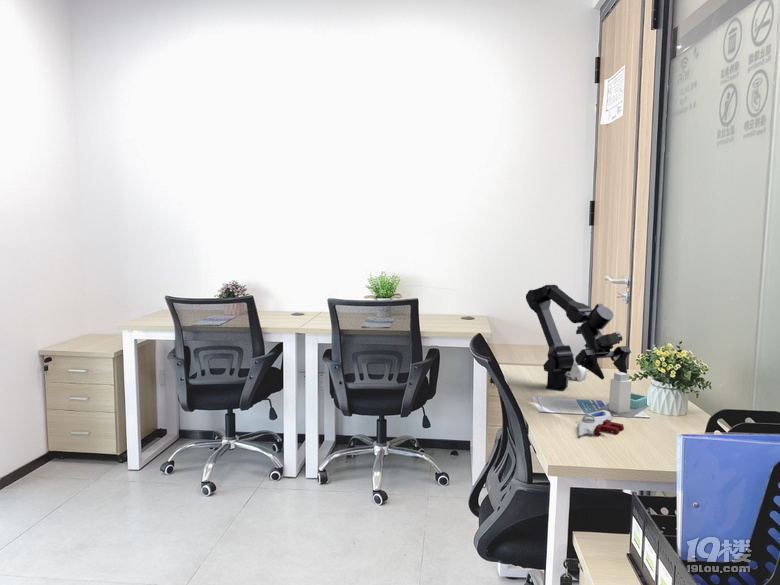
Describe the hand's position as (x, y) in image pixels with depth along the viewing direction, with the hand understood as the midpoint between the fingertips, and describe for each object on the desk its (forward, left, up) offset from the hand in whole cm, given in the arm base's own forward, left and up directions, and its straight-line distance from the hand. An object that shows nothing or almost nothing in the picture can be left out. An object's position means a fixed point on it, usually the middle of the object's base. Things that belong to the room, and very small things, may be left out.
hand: (614, 377), depth 200 cm
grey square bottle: (+2, -2, -10) cm, 10 cm away
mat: (+3, +3, -11) cm, 12 cm away
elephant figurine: (-20, +35, -11) cm, 42 cm away
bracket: (+3, -22, -12) cm, 25 cm away
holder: (+4, +8, -10) cm, 14 cm away
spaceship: (-2, -20, -11) cm, 23 cm away
